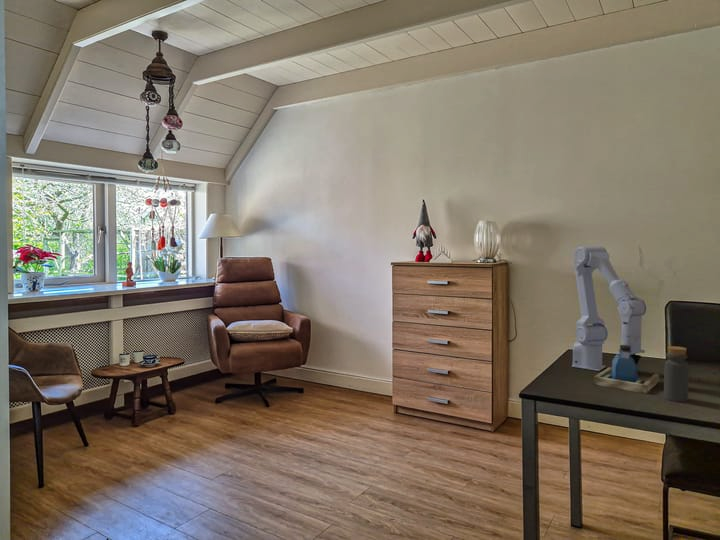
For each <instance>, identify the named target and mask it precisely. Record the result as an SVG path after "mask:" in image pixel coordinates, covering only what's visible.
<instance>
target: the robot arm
mask: <svg viewBox="0 0 720 540" xmlns="http://www.w3.org/2000/svg"><path fill="white" fill-rule="evenodd" d="M573 261H574V262H573V263H574V274H575V280H576V287H577V294H578V295H577V296H578V300H579V308H580V315H581V318H579V320H577V321H576V322H575V326H576V329H575V337H576V340H577V341H575V342H574V344H573V346H572V347H573V348H572V365H571V368H578V369H584V370H585V369H586V370H591V371H597V372H600V371H601V370H603V369H604V368H606V366H607V365H603V345H604V344H605V341H606V340H607V339H608V336H609V331H608V328H607V326H606V324H605V321H604V319H602V318H601V317H600V316H599V315H598V314H599V313H598V307H597V301H596V293H595V287H594V281H593V272H594V271H596V270H597V269H598V271H599V272H600V274H601V275H602V276H603V277H604V279H605V280H606V281H607V282H608V284H609V288H608V290H609V293H610V294H611V295H612V297H613V298H614V300H615V301H616V303H617V305H618V306H617V311H618V314H619V316H620V319H619V320H620V321H621V339H620V340H621V341H620V343H621V345H628V346H631V348H630V350H631V354H630V352H629V353H626V352H622V358H626V359H629V355H631V356H632V358H633V359H634V361H635V363H636V365H637V366H638V364H639V362H640V360H641V358H642V355H640V354H641V353H642V354H644V353H646V350H645V349H642V326H643V324H642V323H643V320H642V319H643V316H644V315H645V314H646V313H647V305H646V303H645V301H644V300H643V299H641V298H638V296H636V295H635V293H634V292H633V290H632V289H631V287H630V286H629V283H628V282H626V281H625V280H622V279H620V278H619V276H618V273H617V272H616V271H615V269H614V267H613V265H612V263H611V261H610V253H608V251H607V249H606V248H605V247H604V246H601V245H600V246H599V245H598V246H579V247H577V248H576V249H575V251H574V252H573Z"/></svg>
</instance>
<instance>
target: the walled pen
mask: <svg viewBox="0 0 720 540" xmlns="http://www.w3.org/2000/svg"><path fill="white" fill-rule="evenodd" d="M659 379H660V374H657V373H654V374H652V375H651V377H650V378H648V379H647V380H646V381H645V382H643V379H641V378H638V379H637V381H636V382H635V383H633V382H627V381H621V380H615V379H612V366H609V367H607V368H606V369H604V370H603V371H601V372H599V373H597V374H596V375H595V376H593V385H595V386H601V387H606V388H611V389H618V390H624V391H629V392H636V393H641V394H648V393H649V392H650V391H651V390H652V389H653V388H654V387H655V386H656V385H657V384H658V383H659V381H660V380H659Z"/></svg>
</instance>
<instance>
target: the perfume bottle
mask: <svg viewBox="0 0 720 540" xmlns="http://www.w3.org/2000/svg"><path fill="white" fill-rule="evenodd" d="M630 348H631V346H628V345H619V349H618V353H619V354H618V353H616V355H615V356H614V357H613V359H612V360H611V367H612V379H615V380H621V381H627V382H633V383H635V382H636V381H637V380H638V370H639V369H638V364H637V365H636V363H635V361H634V359H633V358H632V356H631V355H629V359H626V358H622V352H626V353H629V352H630V354H631V350H630Z"/></svg>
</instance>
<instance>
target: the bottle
mask: <svg viewBox="0 0 720 540" xmlns="http://www.w3.org/2000/svg"><path fill="white" fill-rule="evenodd" d="M686 353H687V348H686V347H684V346H683V347H682V346H677V345H675V346H674V345H673V346H672V345H671V346H670V345H669V346H667V352H666V353H665V355H666V357H667V358H668V359H667V360H666V361H664V373H663V374H664V375H663V376H664V377H663V398H664V399H665V400H668V401H673V402H679V403H683V402H687V401H688V398H689V397H688V396H689V365H690V364H689V363H688V362H687V361H686V359H688V354H686Z"/></svg>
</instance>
